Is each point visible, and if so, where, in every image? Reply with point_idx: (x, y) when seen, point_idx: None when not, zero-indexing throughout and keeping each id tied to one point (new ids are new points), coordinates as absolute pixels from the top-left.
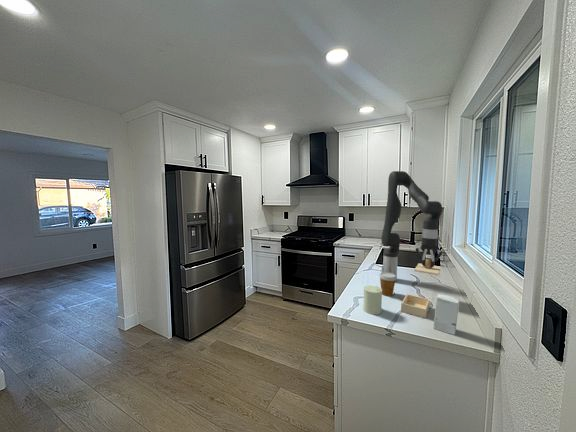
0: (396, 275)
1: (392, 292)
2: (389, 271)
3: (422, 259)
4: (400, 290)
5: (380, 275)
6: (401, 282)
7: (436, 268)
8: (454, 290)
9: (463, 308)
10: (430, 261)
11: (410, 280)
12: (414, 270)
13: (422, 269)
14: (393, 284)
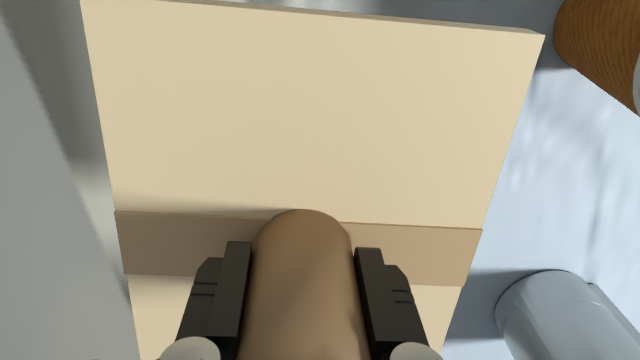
0: (516, 333)
1: (577, 7)
2: (596, 331)
3: (434, 353)
4: None
5: None
6: (463, 295)
7: (180, 293)
8: None
9: (41, 59)
10: (253, 331)
11: None
12: (532, 32)
13: (388, 124)
14: (632, 8)
